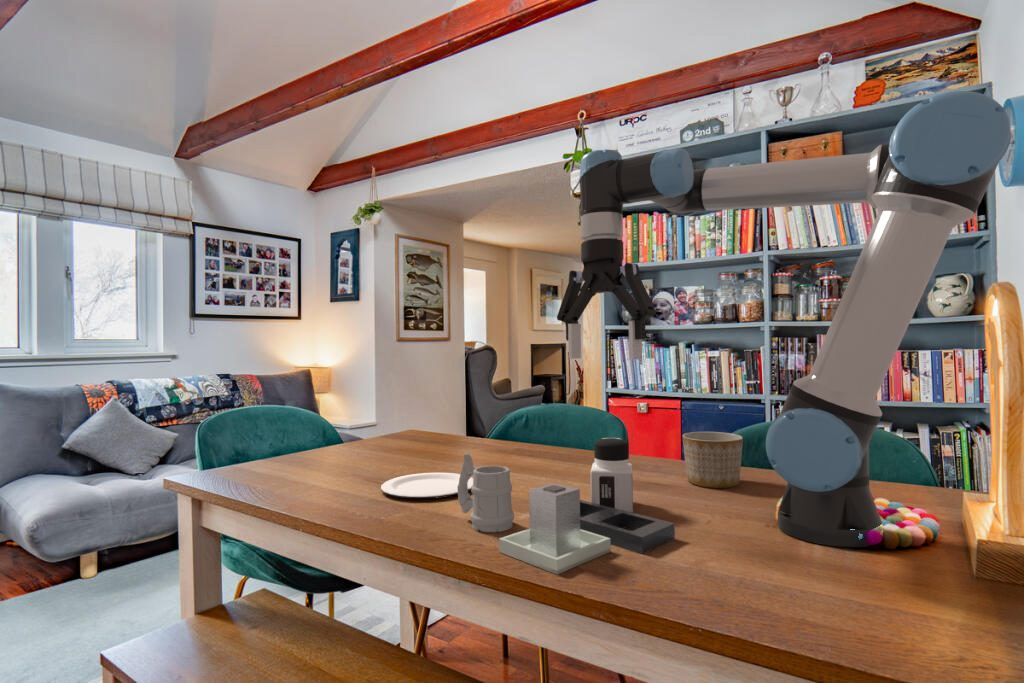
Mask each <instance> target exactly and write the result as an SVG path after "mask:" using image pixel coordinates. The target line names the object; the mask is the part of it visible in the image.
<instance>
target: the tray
mask: <svg viewBox="0 0 1024 683" xmlns="http://www.w3.org/2000/svg"><path fill="white" fill-rule="evenodd" d="M580 543H581V548H579V549H577V550H574V551H572V552H569V553H567V554H564V555H562V556H559V557H557V558H556V557H553V556H551V555H548V554H545V553H542V552H540V551H537V550H534V549H531V548H530V527H529V528H527V529H524V530H521V531H517V532H514V533H511V534H509V535H506V536H503V537H499V538H498V552H499V553H502V554H504V555H506V556H508V557H509V556H510V557H511V558H514V559H517V560H519V561H521V562H524V563H527V564H528V565H529V564H530V565H532V566H534V567H537V568H539V569H543V570H544V571H546V572H549V573H552V574H554V575H559V574H562V573H564V572H566V571H568V570H572V569H573V568H575V567H577V566H578V567H579V566H581V565H583V564H585V563H587V562H590V561H592V560H594V559H596V558H597V559H598V558H599V557H601V556H604V555H605V554H609V553H611V551H612V550H611V549H612V548H611V545H612V544H611V540H610V538H608V537H605V536H601V535H598V534H595V533H591V532H588V531H585V530H581V529H580Z"/></svg>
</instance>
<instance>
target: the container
mask: <svg viewBox="0 0 1024 683" xmlns="http://www.w3.org/2000/svg"><path fill="white" fill-rule="evenodd" d="M593 445H594V448H593V449H594V450H593V451H594V462H592V465H591V468H590V474H589V475H590V502H591V503H595V504H599V505H603V506H607V507H611V508H615V509H619V510H623V511H627V512H631V513H634V495H633V494H634V492H633V491H634V490H633V488H634V486H633V485H634V484H633V483H634V482H633V481H634V480H633V477H634V475H633V464H632V463H630V455H629V454H630V451H629V450H630V449H629V448H630V447H629V442H628V441H627V440H625V439H623V438H619V437H604V438H603V437H602V438H600V439H597V440H595V442H594V444H593Z"/></svg>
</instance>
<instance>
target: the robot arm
mask: <svg viewBox="0 0 1024 683" xmlns="http://www.w3.org/2000/svg"><path fill="white" fill-rule="evenodd" d="M1011 129H1012V126H1011V121H1010V118H1009V115H1008V113H1007V112H1006V109H1005V108H1004V107H1003V106H1002V104H1000V102H998V101H996V100H995V99H993V97H991V96H988V95H985V94H984V93H981V92H975V91H969V90H956V91H955V90H954V91H948V92H943V93H939V94H936V95H933V96H931V97H929V98H926V99H924V100H923V101H921V102H919V103H918V104H916V105H914V106H913V107H912V108H910V109H909V110H908V111H907V112H906V113H905V114H904V116H902V117H901V119H900V120H899V122H898V123H897V125H896V126H895V128H894V129H893V131H892V133H891V135H890V139H889V143H886V144H879V145H878V146H876V148H875V149H873V151H870V152H864V153H855V154H854V153H853V154H842V155H835V156H834V155H833V156H824V157H823V156H822V157H812V158H802V159H793V160H792V159H791V160H784V161H783V160H782V161H771V162H762V163H761V162H760V163H751V164H742V165H741V164H740V165H731V166H720V167H710V168H709V167H708V168H702V169H700V168H699V169H694V165H693V160H692V158H691V157H690V156H691V155H690V154H689V152H688V151H687V150H686V149H684V148H674V149H663V150H659V151H657V152H653V153H648V154H644V155H640V156H635V157H630V158H625V159H623V158H622V154H621V153H620V152H619V151H617V150H614V149H596V150H591V151H589V152H587V153H585V154H584V155H583V156H582V157H581V159H580V163H579V165H580V167H579V177H578V183H579V191H580V192H579V194H580V195H579V197H580V240H582V241H583V242H582V243H581V244H580V259H581V263H582V265H583V267H582V268H583V269H582V271H580V270H570V271H569V274H568V284H567V286H566V289H565V292H564V295H563V298H562V301H561V304H560V306H559V310H558V313H557V315H556V319H557V321H560V322H563V323H564V324H565V339H566V341H567V343H568V359H571V360H573V359H582V340H581V339H582V337H581V336H582V332H581V330H582V326H581V323H580V322H579V320H580V318H581V316H582V315H583V313H584V311H585V309H586V308H587V306H588V305H589V303H590V302H591V300H592V298H593V297H594V296H596V295H597V294H603V293H613V295H615V297H616V298H617V300H618V301H619V302H620V304H621V305H622V306H623V308H624V309H625V310H626V311H627V313H628V314H629V315H630V317H631V318H630V320H628V354H629V356H628V359H629V360H643V340H645V339H646V320H647V319H649V318H651V317H654V316H656V314H657V310H656V309H655V306H654V304H653V303H652V299H651V298H650V296H649V294H648V291H647V290H646V287H645V285H644V283H643V281H642V279H641V276H640V268H639V265H638V264H637V263H632V262H626V263H625V264H624V265H623V261H624V259H625V258H624V242H623V240H622V238H623V236H624V224H623V223H624V222H623V221H624V219H623V218H624V217H623V216H624V212H623V211H624V210H623V208H624V205H626V204H627V205H629V204H633V203H640V202H641V203H642V202H647V201H651V202H653V203H654V204H656V205H658V206H661V207H662V208H664V209H666V210H667V211H668V212H670V213H671V214H674V215H676V216H683V217H688V216H689V217H690V216H692V215H696V214H697V213H699V212H708V211H710V212H711V211H726V210H727V211H728V210H745V209H747V210H748V209H763V208H764V209H767V208H786V207H803V206H804V207H805V206H807V207H809V206H826V205H845V204H847V205H848V204H864V203H867V204H868V205H869V206H871V207H872V208H874V210H875V209H876V210H877V214H876V217H875V220H874V221H873V224H872V226H871V229H870V232H869V234H868V235H867V238H866V240H865V243H864V246H863V248H862V250H861V252H860V255H859V257H858V259H857V262H856V263H855V267H854V268H853V271H852V274H851V276H850V278H849V281H848V283H847V285H846V287H845V290H844V293H843V294H842V297H841V299H840V302H839V304H838V306H837V309H836V311H835V314H834V316H833V318H832V320H831V323H830V325H829V327H828V330H827V332H826V335H825V337H824V339H823V341H822V344H821V346H820V348H819V351H818V353H817V356H816V358H815V360H814V362H813V365H812V367H811V369H810V372H809V374H807V375H806V376H802V377H801V378H800V377H799V378H798V379H795V380H794V381H793V383H792V384H791V387H790V390H789V392H788V394H787V396H786V399H785V401H784V403H783V406H782V408H781V411H780V412H779V415H778V417H776V418H775V419H774V420H773V422H772V423H771V424H770V425H769V427H768V429H767V433H766V437H765V452H766V455H767V458H768V461H769V463H770V465H771V467H772V468H773V470H774V471H775V472H776V473H777V475H779V476H780V477H781V478H782V479H783V480H784V481H785V482H787V484H786V487H785V489H784V493H783V496H782V497H781V501H780V504H779V507H778V510H777V528H779V530H780V531H781V532H783V533H785V534H786V535H789V536H790V537H793V538H796V539H798V540H802V541H806V542H810V543H814V544H817V545H819V544H820V545H825V546H831V547H832V546H833V547H843V548H866V547H869V546H868V544H867V542H866V540H865V539H866V538H865V535H866V533H867V532H869V531H870V530H872V529H874V528H876V527H878V526H880V525H881V524H882V523H883V521H882V518H881V516H880V514H879V510H878V508H877V504H876V503H875V499H874V497H873V495H872V492H871V488H870V447H869V445H870V442H871V441H872V438H873V435H874V433H875V431H876V428H877V426H878V424H879V422H880V420H881V418H882V416H883V412H882V410H881V408H880V406H879V403H878V402H877V399H876V397H877V396H878V393H879V391H880V389H881V386H882V384H883V382H884V380H885V377H886V375H887V374H888V371H889V369H890V367H891V365H892V363H893V360H894V358H895V356H896V354H897V352H898V349H899V348H900V345H901V342H902V340H903V339H904V337H905V334H906V332H907V330H908V328H909V326H910V323H911V320H912V319H913V317H914V314H915V312H916V310H917V307H918V306H919V303H920V301H921V299H922V297H923V295H924V292H925V290H926V288H927V285H928V284H929V282H930V279H931V277H932V275H933V273H934V271H935V268H936V266H937V264H938V262H939V260H940V257H941V255H942V253H943V251H944V248H945V247H946V244H947V242H948V239H949V238H950V235H951V233H952V231H953V230H954V228H955V227H956V226H959V225H961V224H964V223H965V222H968V221H969V220H973V218H974V217H975V214H976V212H977V211H978V209H979V206H980V204H981V202H982V200H983V197H984V196H985V193H986V191H987V189H988V188H989V187H988V186H989V185H990V182H991V180H992V178H993V176H994V174H995V171H996V169H997V168H998V165H999V163H1000V161H1001V160H1002V159H1003V157H1004V156H1005V155H1006V154H1007V152H1008V149H1009V147H1010V144H1011V140H1012V131H1011ZM623 276H624V277H625V280H626V282H627V285H628V286H629V289H630V291H631V293H632V295H631V293H630V291H628V290H627V289H628V288H627V286H626V284H624V282H623V281H622V280H621V279H622V278H623ZM582 283H583V284H582ZM850 529H855V530H850ZM859 533H860V534H863V537H864V538H862V539H860V540H859V538H858V536H859Z"/></svg>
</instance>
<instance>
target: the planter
mask: <svg viewBox="0 0 1024 683" xmlns="http://www.w3.org/2000/svg"><path fill="white" fill-rule="evenodd" d="M743 441H744V437H743V436H741V435H740V434H736V433H731V432H721V431H720V432H719V431H693V432H686V433H683V434H682V443H683V444H682V445H683V452H684V453H683V454H684V462H685V471H686V478H687V480H688V482H689V483H691V484H692V485H695V486H698V487H700V488H701V487H702V488H710V489H728V488H729V489H730V488H732V487H733V488H734V487H736V486H738V484H739V483H740V480H741V478H740V477H741V469H742V468H741V465H742V453H743V452H742V451H743V444H744V443H743Z"/></svg>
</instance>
